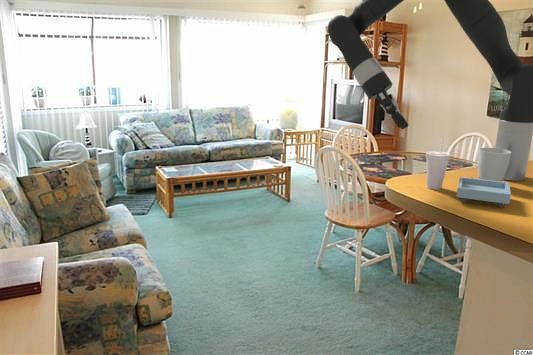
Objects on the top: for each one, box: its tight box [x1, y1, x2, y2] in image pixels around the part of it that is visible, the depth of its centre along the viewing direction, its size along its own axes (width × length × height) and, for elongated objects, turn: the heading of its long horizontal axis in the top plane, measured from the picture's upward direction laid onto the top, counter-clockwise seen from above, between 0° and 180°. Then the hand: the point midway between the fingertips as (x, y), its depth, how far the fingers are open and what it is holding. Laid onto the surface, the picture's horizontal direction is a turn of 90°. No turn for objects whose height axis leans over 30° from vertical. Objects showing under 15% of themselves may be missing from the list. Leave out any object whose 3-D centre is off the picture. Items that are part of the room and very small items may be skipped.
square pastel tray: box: [456, 176, 512, 208], centre depth 112 cm, size 12×12×4 cm
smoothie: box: [424, 137, 451, 191], centre depth 121 cm, size 6×6×14 cm
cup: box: [477, 147, 511, 182], centre depth 126 cm, size 8×8×10 cm
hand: (404, 127), depth 122 cm, fingers open, 8 cm apart
